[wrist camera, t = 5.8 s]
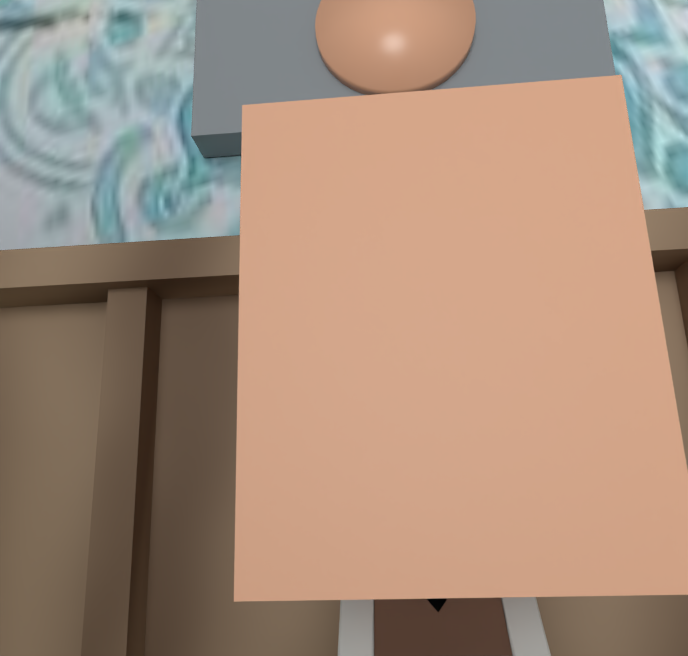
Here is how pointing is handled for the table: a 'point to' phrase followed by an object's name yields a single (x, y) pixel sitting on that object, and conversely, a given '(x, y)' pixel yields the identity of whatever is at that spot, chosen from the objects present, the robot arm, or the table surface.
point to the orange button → (379, 51)
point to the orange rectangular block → (452, 351)
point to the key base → (191, 462)
